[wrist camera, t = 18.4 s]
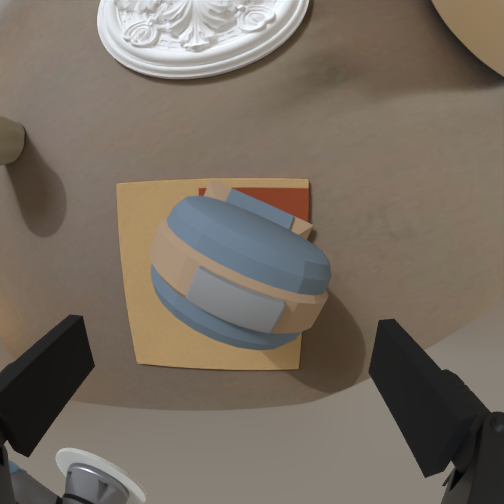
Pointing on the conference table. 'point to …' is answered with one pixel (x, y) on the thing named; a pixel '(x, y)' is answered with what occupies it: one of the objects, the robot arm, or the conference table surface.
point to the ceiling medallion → (195, 33)
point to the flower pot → (10, 140)
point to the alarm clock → (238, 269)
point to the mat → (142, 290)
